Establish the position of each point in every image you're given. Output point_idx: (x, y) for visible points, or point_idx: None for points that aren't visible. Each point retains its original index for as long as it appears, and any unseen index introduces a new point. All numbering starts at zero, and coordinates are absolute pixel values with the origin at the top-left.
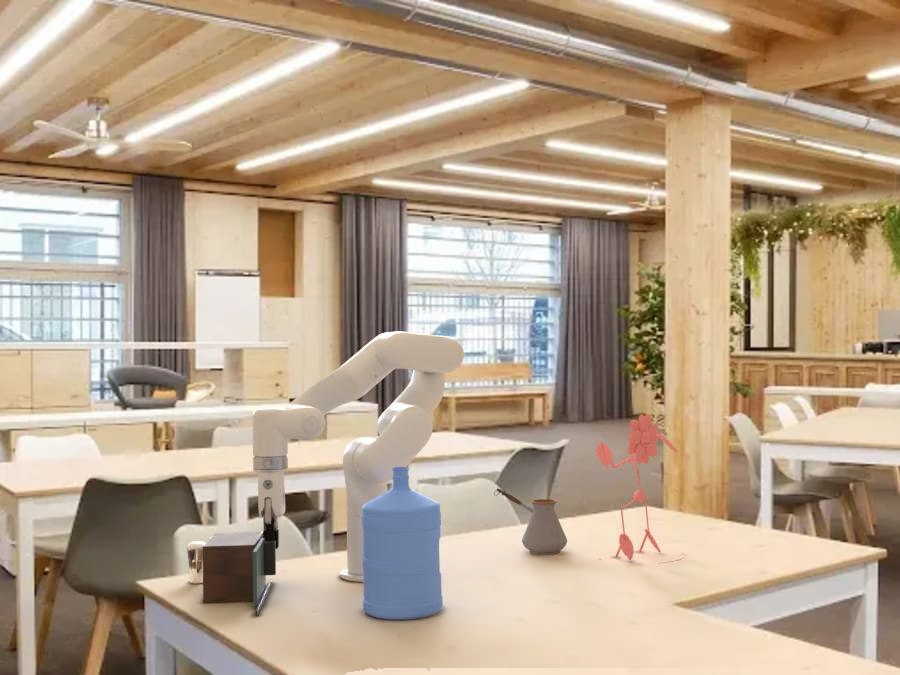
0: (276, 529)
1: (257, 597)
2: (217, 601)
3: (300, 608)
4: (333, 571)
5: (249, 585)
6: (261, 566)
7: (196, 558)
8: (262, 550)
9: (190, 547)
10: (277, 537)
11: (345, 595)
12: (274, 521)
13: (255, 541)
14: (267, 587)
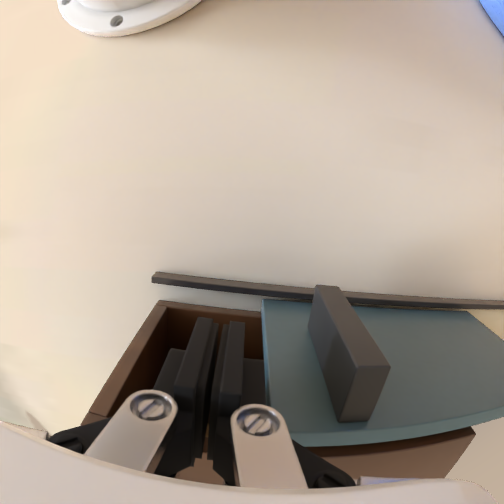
0: (245, 410)
1: (473, 319)
2: None
3: (494, 198)
4: (36, 76)
5: None
6: (419, 357)
7: None
8: (405, 396)
9: None
10: (242, 361)
11: (395, 44)
12: (300, 485)
13: (404, 453)
14: (286, 295)
